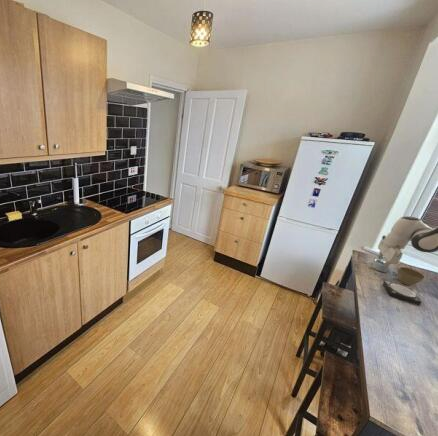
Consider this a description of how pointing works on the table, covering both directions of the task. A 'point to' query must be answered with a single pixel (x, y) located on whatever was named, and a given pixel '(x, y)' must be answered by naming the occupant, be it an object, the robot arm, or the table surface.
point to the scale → (402, 293)
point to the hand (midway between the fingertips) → (382, 262)
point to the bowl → (380, 266)
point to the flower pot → (409, 276)
